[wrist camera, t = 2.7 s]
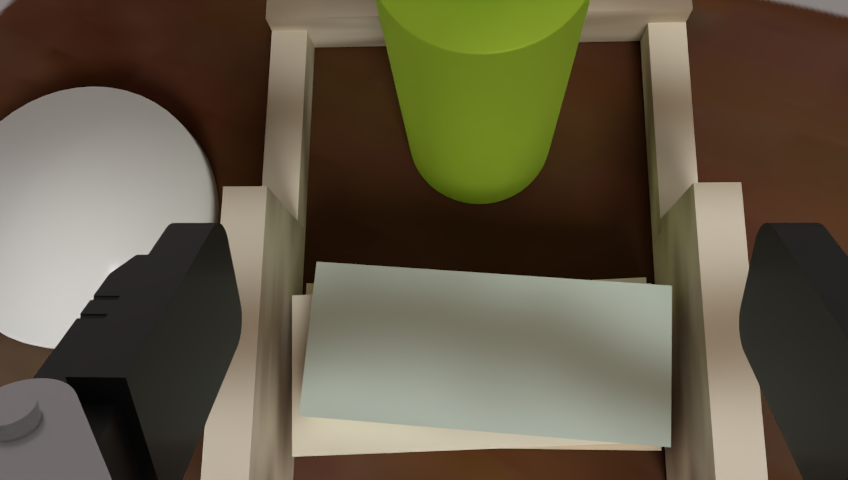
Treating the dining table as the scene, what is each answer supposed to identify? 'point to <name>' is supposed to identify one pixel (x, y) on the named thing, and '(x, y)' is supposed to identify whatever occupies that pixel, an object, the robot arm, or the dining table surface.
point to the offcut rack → (487, 305)
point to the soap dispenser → (481, 87)
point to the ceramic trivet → (88, 200)
